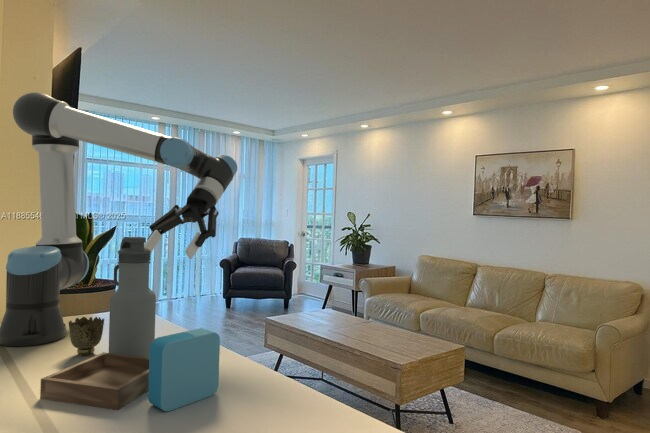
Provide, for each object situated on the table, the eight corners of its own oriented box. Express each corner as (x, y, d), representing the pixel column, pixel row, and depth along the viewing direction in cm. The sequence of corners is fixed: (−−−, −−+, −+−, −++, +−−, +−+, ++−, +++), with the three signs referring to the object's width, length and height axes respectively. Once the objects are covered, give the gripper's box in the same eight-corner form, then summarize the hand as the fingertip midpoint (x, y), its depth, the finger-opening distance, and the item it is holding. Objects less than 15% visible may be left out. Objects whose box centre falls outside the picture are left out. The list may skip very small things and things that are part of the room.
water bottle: (102, 355, 104) (105, 236, 104) (145, 348, 111) (148, 235, 110) (115, 368, 96) (119, 238, 96) (160, 359, 103) (164, 238, 103)
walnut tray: (103, 368, 96) (103, 352, 96) (169, 377, 92) (170, 360, 92) (40, 398, 80) (40, 378, 80) (117, 409, 77) (117, 389, 77)
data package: (204, 387, 88) (206, 326, 88) (218, 393, 85) (220, 331, 85) (147, 406, 78) (149, 338, 78) (161, 414, 76) (163, 344, 76)
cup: (88, 360, 101) (89, 325, 101) (60, 357, 102) (61, 322, 102) (110, 350, 108) (111, 317, 108) (83, 347, 110) (84, 315, 109)
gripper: (247, 207, 125) (213, 266, 111) (175, 205, 134) (136, 259, 120) (237, 187, 120) (200, 246, 106) (163, 186, 129) (121, 240, 115)
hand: (166, 253), depth 113 cm, fingers open, 13 cm apart
